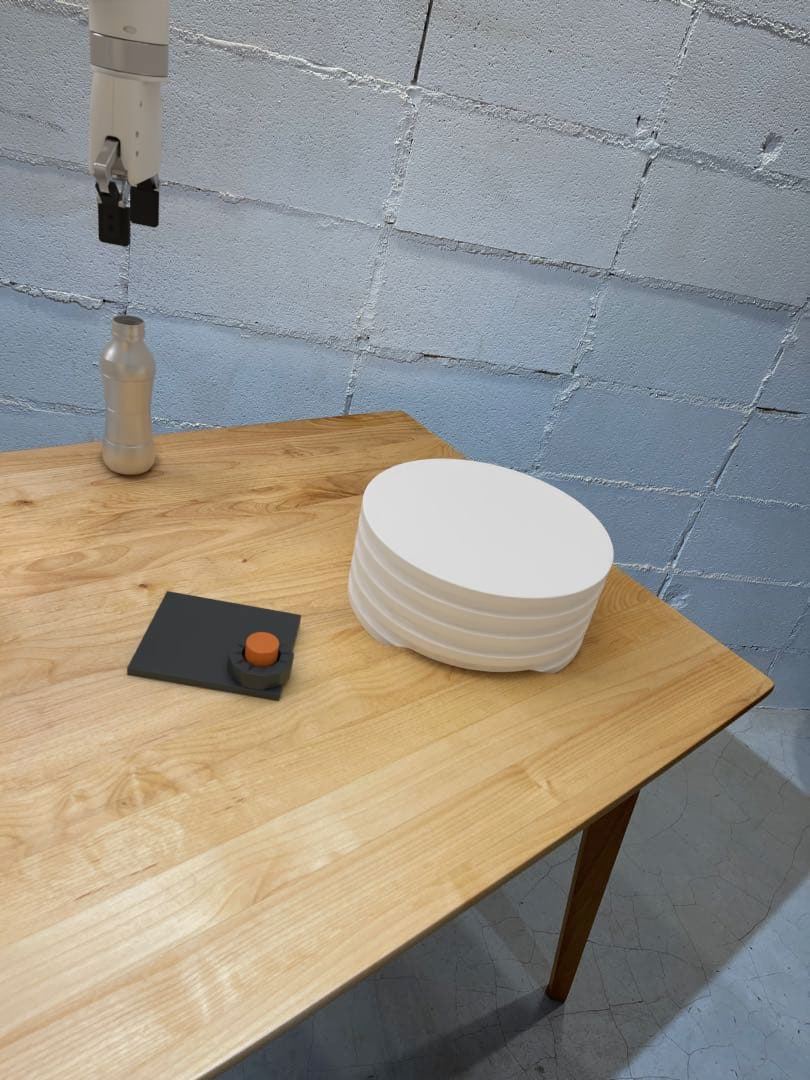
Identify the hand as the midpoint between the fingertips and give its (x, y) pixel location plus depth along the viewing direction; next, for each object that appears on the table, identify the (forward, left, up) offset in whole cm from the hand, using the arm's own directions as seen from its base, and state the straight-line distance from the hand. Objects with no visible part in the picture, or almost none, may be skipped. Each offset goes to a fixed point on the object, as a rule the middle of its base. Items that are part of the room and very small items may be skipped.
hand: (130, 233), depth 91 cm
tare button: (+24, -36, -26) cm, 51 cm away
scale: (+20, -33, -30) cm, 49 cm away
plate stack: (+45, -16, -30) cm, 56 cm away
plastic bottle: (0, 0, -30) cm, 30 cm away
